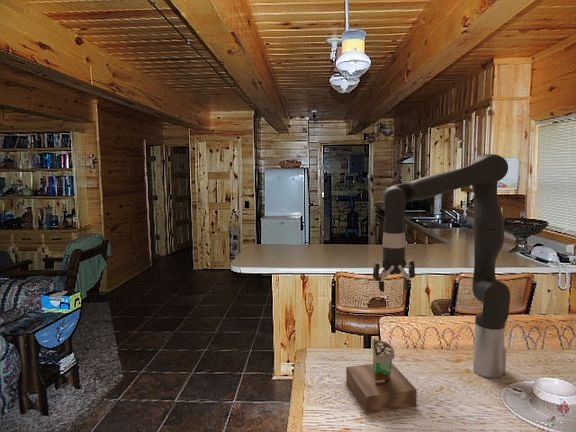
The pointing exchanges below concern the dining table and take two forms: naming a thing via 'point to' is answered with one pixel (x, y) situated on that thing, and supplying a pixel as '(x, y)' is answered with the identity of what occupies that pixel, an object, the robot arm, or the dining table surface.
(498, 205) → the robot arm
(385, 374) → the food container
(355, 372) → the walnut box
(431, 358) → the dining table surface
